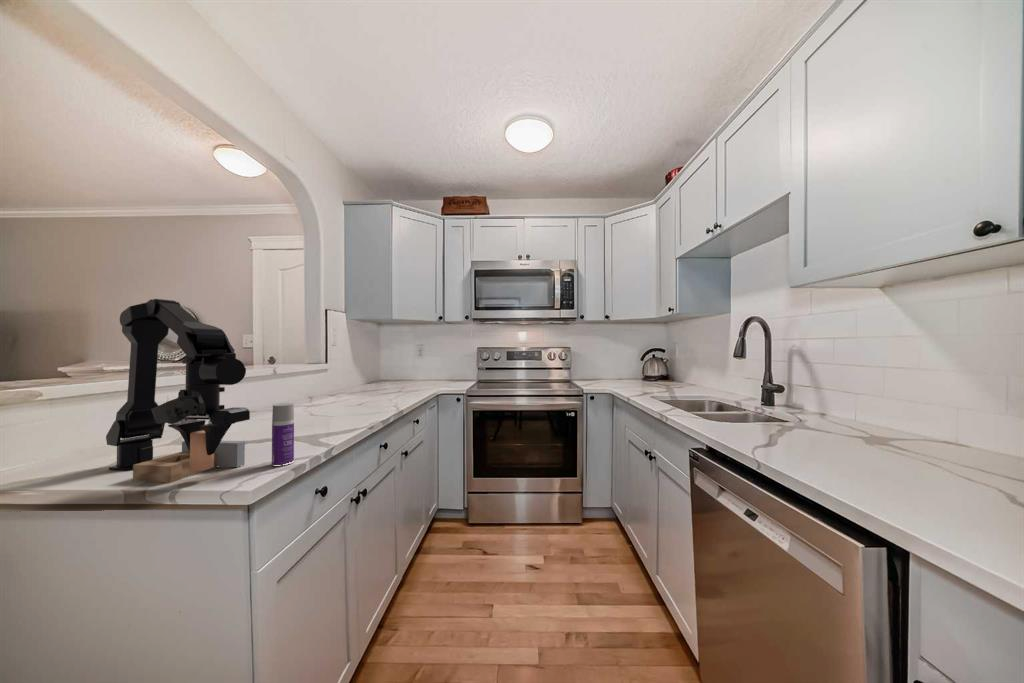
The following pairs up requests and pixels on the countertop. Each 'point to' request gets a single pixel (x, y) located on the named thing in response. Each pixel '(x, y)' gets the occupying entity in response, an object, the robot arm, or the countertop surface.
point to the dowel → (199, 452)
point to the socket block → (165, 468)
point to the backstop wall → (227, 453)
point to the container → (282, 433)
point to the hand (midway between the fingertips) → (202, 454)
